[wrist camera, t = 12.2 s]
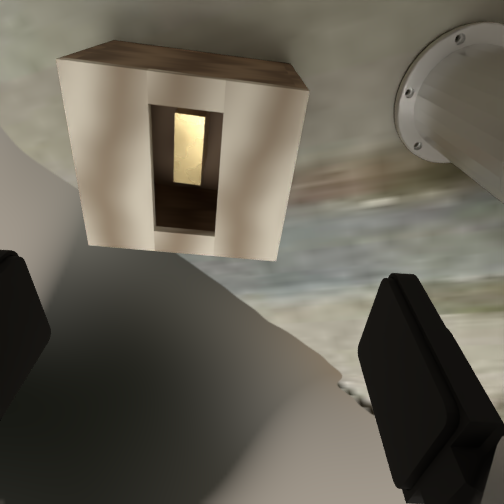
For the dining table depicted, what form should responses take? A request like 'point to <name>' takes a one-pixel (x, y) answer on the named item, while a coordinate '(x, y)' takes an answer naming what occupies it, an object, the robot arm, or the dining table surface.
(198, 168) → the tan flat block
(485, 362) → the dining table surface
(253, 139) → the box with rectangular opening
